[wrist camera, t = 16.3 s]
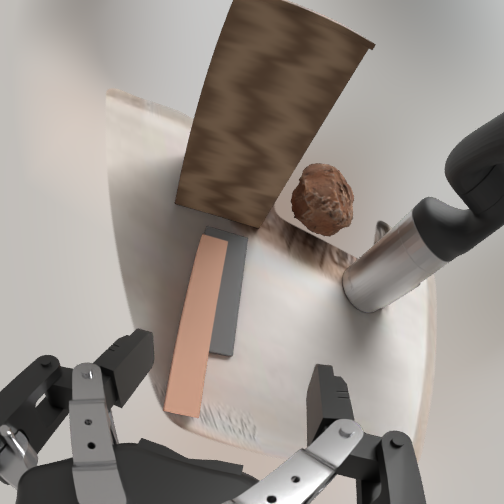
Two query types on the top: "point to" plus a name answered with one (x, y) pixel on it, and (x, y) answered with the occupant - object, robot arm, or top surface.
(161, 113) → the top surface
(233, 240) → the mat
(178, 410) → the tan wooden bar
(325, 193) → the decorative rock
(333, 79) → the stand
